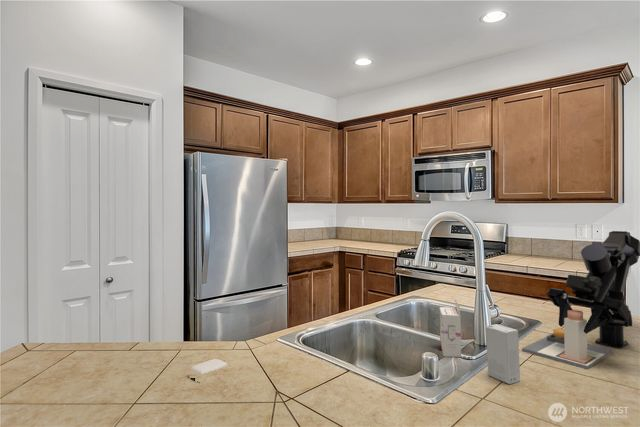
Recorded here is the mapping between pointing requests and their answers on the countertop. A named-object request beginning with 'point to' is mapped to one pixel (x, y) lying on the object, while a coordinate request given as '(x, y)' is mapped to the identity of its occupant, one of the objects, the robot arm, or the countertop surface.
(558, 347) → the grey flat board
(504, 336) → the skincare box
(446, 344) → the ink cartridge box
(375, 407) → the countertop surface
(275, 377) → the countertop surface
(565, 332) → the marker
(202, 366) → the soap
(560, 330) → the button
